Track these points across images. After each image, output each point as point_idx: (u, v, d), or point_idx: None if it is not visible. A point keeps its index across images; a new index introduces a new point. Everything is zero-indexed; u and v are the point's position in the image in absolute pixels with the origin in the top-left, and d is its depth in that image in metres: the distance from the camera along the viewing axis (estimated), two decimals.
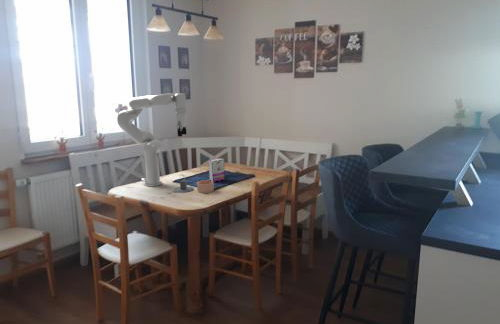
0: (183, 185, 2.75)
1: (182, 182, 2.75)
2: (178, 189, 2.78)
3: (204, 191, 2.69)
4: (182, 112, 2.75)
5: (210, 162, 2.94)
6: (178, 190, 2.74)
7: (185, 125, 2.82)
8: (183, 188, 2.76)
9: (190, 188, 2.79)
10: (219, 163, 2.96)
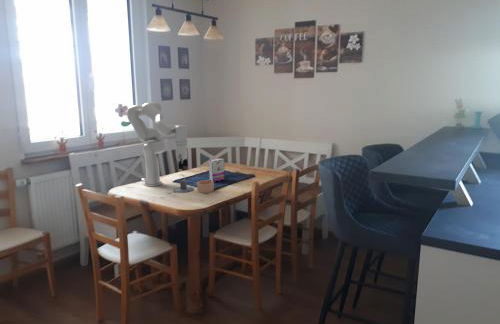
0: (183, 185, 2.75)
1: (182, 182, 2.75)
2: (178, 188, 2.78)
3: (204, 191, 2.69)
4: (183, 144, 2.68)
5: (210, 162, 2.94)
6: (178, 190, 2.74)
7: (186, 157, 2.75)
8: (183, 188, 2.76)
9: (190, 188, 2.79)
10: (219, 163, 2.96)
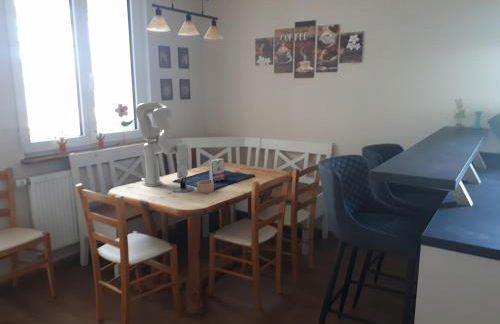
0: None
1: None
2: (178, 188, 2.78)
3: (204, 191, 2.69)
4: (183, 163, 2.70)
5: (210, 162, 2.94)
6: (178, 190, 2.74)
7: (186, 175, 2.77)
8: (183, 188, 2.75)
9: (190, 188, 2.79)
10: (219, 163, 2.96)
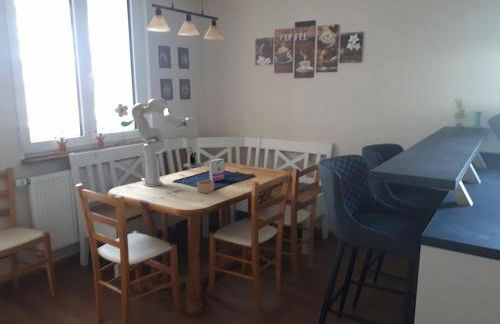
0: None
1: None
2: (188, 164, 2.72)
3: (204, 191, 2.69)
4: (193, 137, 2.65)
5: (210, 162, 2.94)
6: (188, 165, 2.69)
7: (196, 150, 2.72)
8: (193, 163, 2.70)
9: (200, 163, 2.73)
10: (219, 163, 2.96)
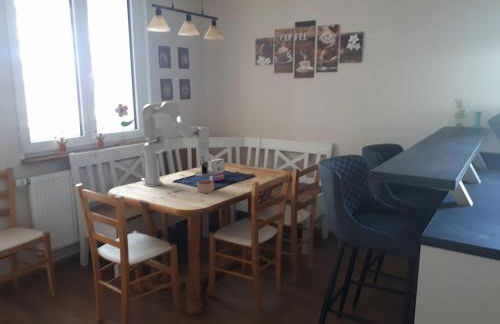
0: None
1: None
2: (200, 173, 2.72)
3: (204, 191, 2.69)
4: (205, 146, 2.65)
5: (210, 162, 2.94)
6: (200, 174, 2.69)
7: (208, 159, 2.72)
8: None
9: (212, 172, 2.73)
10: (219, 163, 2.96)
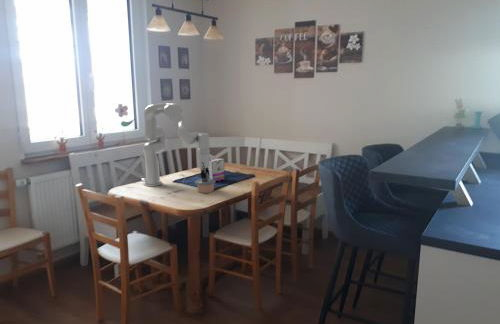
0: None
1: None
2: (200, 181, 2.73)
3: (204, 191, 2.69)
4: (205, 153, 2.65)
5: (210, 162, 2.94)
6: (200, 182, 2.70)
7: (208, 165, 2.73)
8: (205, 180, 2.71)
9: (211, 180, 2.74)
10: (219, 163, 2.96)
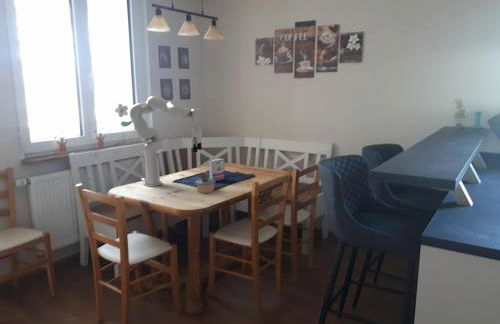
0: (205, 177, 2.71)
1: (204, 174, 2.70)
2: (200, 181, 2.73)
3: (204, 191, 2.69)
4: (198, 128, 2.72)
5: (210, 162, 2.94)
6: (200, 182, 2.70)
7: (200, 140, 2.79)
8: (205, 180, 2.71)
9: (211, 180, 2.74)
10: (219, 163, 2.96)
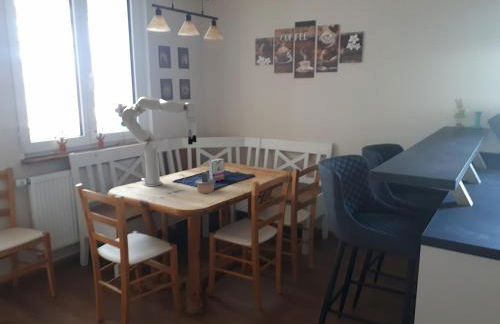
0: (205, 177, 2.71)
1: (204, 174, 2.70)
2: (200, 181, 2.73)
3: (204, 191, 2.69)
4: (193, 120, 2.80)
5: (210, 162, 2.94)
6: (200, 182, 2.70)
7: (195, 133, 2.87)
8: (205, 180, 2.71)
9: (211, 180, 2.74)
10: (219, 163, 2.96)
